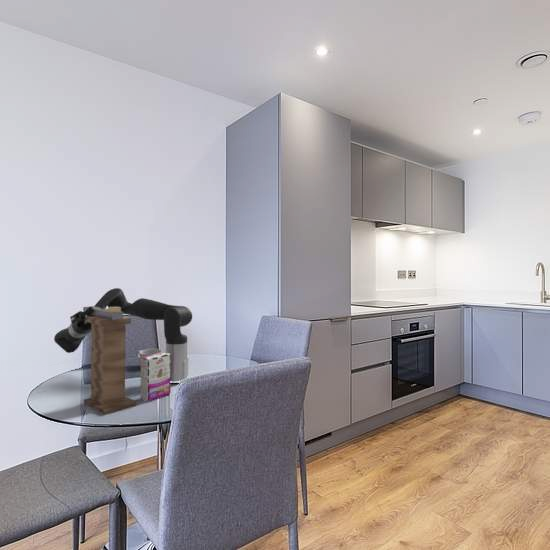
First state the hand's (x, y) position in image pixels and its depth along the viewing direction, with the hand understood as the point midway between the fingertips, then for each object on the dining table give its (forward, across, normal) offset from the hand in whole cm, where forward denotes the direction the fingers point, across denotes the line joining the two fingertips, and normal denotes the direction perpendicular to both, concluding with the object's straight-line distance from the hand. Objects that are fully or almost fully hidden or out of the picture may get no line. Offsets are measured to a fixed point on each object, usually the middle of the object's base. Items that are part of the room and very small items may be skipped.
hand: (97, 308), depth 147 cm
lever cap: (+2, 0, +4) cm, 5 cm away
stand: (-8, 0, +35) cm, 36 cm away
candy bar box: (-4, +16, +38) cm, 41 cm away
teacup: (-41, +38, +17) cm, 58 cm away
